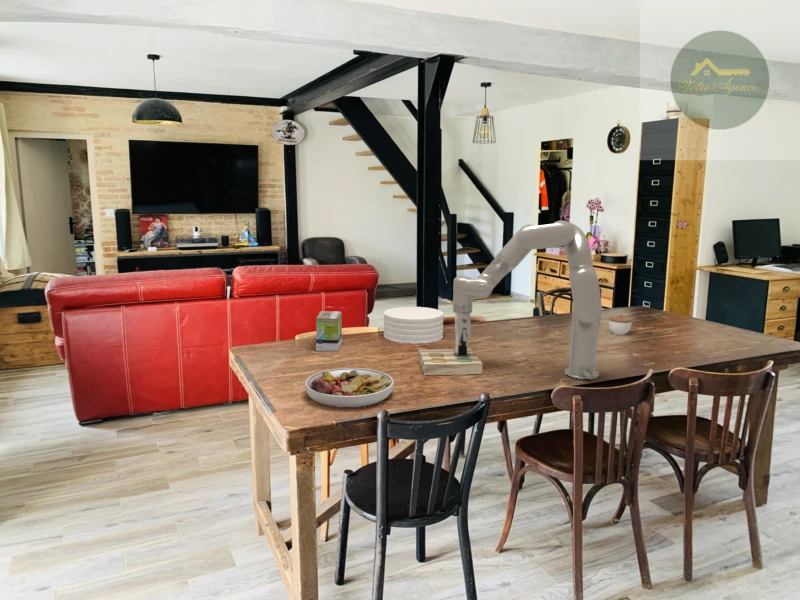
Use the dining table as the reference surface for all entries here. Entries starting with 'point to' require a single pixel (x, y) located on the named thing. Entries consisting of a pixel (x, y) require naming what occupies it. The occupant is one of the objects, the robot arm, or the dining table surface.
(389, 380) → the bowl
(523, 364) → the dining table surface
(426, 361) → the socket block
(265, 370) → the dining table surface
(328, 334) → the tea box
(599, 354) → the dining table surface
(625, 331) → the lidded jar
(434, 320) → the plate stack
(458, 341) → the plug
